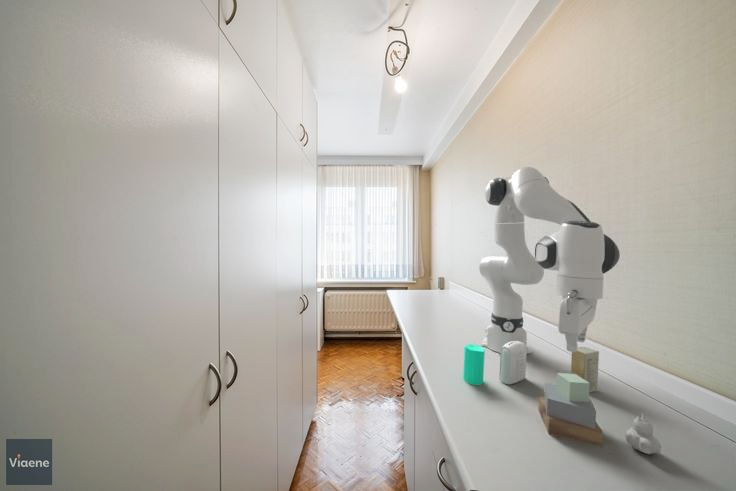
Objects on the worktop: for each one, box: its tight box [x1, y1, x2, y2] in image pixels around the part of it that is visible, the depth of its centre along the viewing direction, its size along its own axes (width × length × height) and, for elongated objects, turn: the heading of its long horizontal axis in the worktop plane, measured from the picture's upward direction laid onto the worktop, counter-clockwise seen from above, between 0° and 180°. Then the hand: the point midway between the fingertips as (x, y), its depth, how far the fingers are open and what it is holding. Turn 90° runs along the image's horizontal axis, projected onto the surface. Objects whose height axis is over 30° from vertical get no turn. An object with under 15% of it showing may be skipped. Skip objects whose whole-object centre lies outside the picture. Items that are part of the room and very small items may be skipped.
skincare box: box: [570, 346, 600, 393], centre depth 86 cm, size 6×4×12 cm
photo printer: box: [498, 341, 528, 385], centre depth 90 cm, size 10×4×12 cm, turn 124°
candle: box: [462, 342, 485, 386], centre depth 88 cm, size 6×6×12 cm
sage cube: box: [555, 372, 590, 402], centre depth 67 cm, size 4×4×4 cm
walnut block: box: [538, 396, 603, 447], centre depth 67 cm, size 10×10×4 cm
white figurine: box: [624, 412, 662, 455], centre depth 60 cm, size 5×7×8 cm
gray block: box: [544, 382, 597, 429], centre depth 67 cm, size 9×9×4 cm
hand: (576, 345), depth 67 cm, fingers open, 8 cm apart
